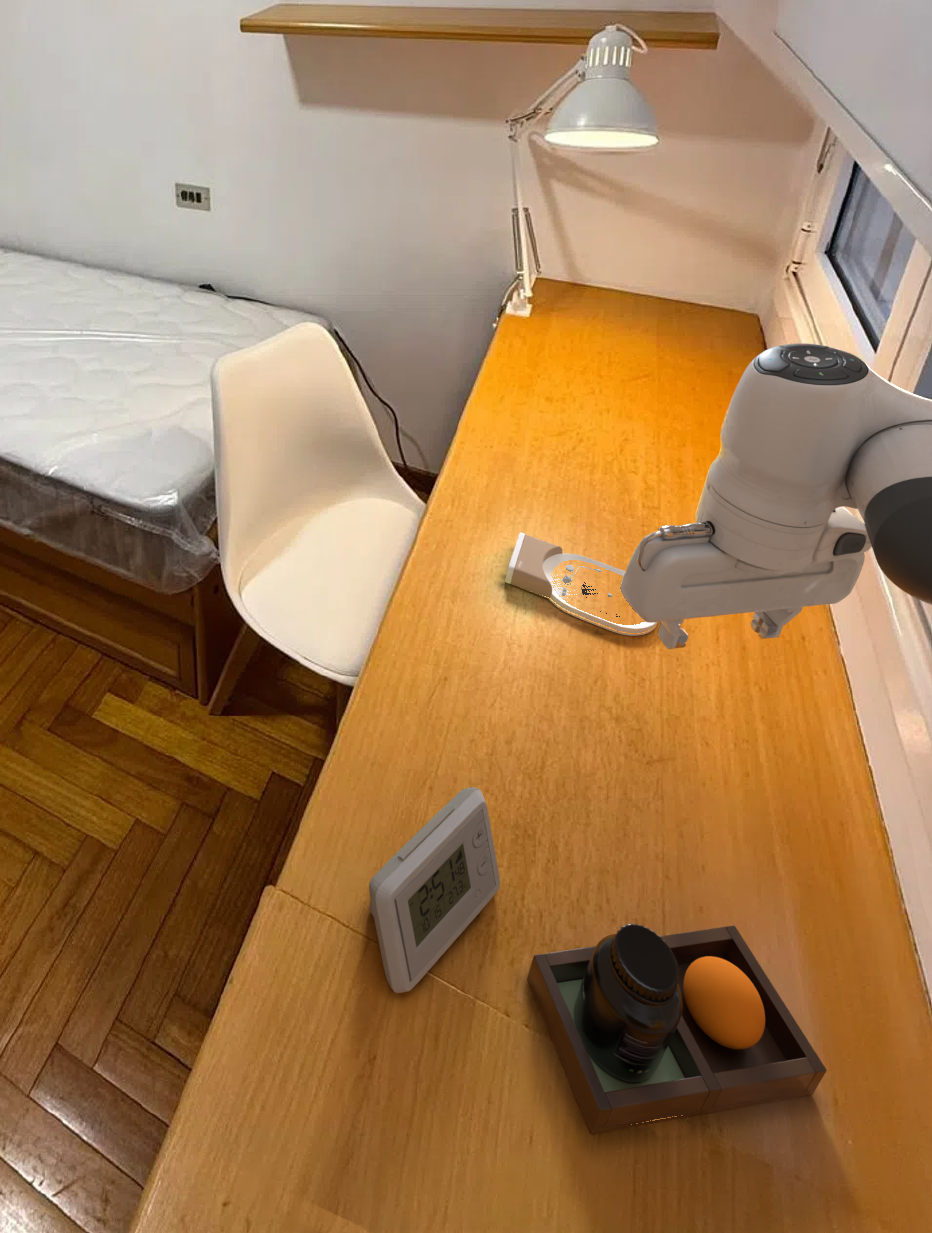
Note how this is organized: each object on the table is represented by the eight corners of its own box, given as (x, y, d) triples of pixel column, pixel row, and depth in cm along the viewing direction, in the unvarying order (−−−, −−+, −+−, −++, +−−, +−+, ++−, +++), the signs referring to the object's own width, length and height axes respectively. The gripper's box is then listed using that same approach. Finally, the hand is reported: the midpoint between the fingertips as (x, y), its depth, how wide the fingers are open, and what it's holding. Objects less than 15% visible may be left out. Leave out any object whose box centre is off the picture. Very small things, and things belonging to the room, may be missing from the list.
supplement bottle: (559, 986, 74) (586, 907, 69) (634, 986, 74) (665, 907, 69) (593, 1087, 68) (625, 1007, 63) (675, 1087, 68) (713, 1007, 63)
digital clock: (390, 1009, 73) (404, 939, 69) (333, 907, 80) (342, 838, 76) (523, 920, 80) (543, 851, 76) (459, 833, 87) (473, 766, 83)
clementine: (721, 975, 75) (739, 937, 73) (770, 1059, 70) (792, 1020, 67) (661, 984, 74) (677, 946, 72) (706, 1070, 69) (725, 1031, 67)
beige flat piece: (522, 525, 127) (666, 577, 118) (518, 540, 128) (660, 593, 119) (506, 573, 117) (661, 633, 108) (502, 589, 119) (655, 650, 110)
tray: (723, 948, 78) (734, 924, 76) (813, 1094, 68) (827, 1070, 67) (526, 978, 75) (533, 954, 74) (590, 1134, 66) (600, 1110, 64)
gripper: (670, 556, 66) (634, 678, 71) (894, 534, 68) (843, 655, 74) (623, 504, 72) (593, 621, 77) (832, 486, 74) (788, 601, 80)
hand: (717, 637), depth 76 cm, fingers open, 8 cm apart
